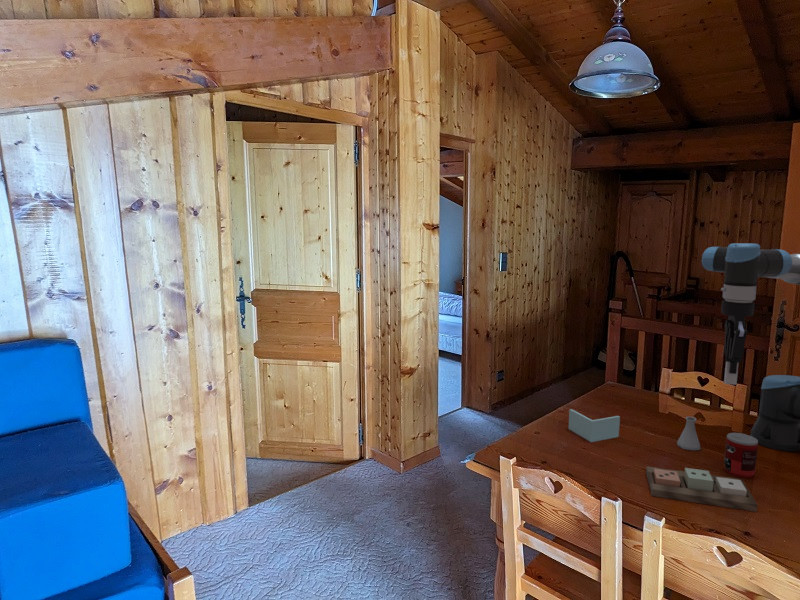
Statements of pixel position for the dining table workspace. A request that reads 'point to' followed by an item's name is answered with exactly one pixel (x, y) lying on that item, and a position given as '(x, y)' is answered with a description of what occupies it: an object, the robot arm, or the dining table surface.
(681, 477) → the button board
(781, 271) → the robot arm
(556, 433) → the dining table surface
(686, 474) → the tile two
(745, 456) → the canned food
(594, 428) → the right angle wall
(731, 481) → the tile one
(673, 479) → the tile three
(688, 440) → the flask
